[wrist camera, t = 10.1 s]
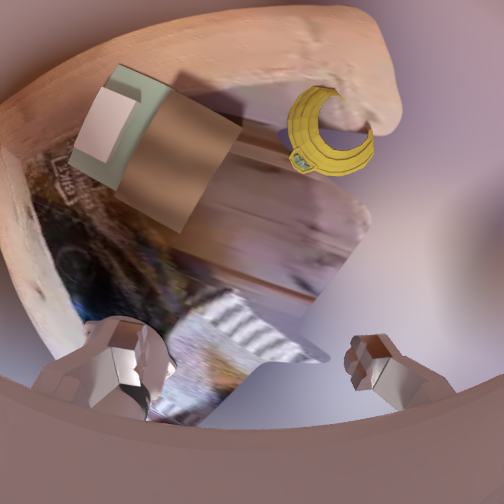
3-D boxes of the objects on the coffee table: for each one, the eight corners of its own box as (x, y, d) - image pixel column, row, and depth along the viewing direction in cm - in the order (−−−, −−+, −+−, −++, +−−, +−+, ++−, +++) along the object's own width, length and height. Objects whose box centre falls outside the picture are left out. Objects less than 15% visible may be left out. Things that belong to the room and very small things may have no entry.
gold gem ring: (286, 173, 37) (293, 177, 33) (285, 84, 32) (292, 77, 28) (369, 176, 38) (383, 180, 34) (369, 94, 33) (383, 90, 29)
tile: (73, 146, 30) (79, 146, 31) (105, 163, 31) (111, 162, 33) (101, 86, 27) (107, 88, 29) (136, 101, 29) (140, 103, 31)
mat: (119, 192, 35) (119, 193, 35) (68, 163, 32) (67, 163, 32) (176, 90, 31) (175, 90, 30) (119, 64, 28) (118, 64, 28)
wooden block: (184, 224, 38) (179, 233, 34) (124, 191, 35) (113, 196, 31) (241, 130, 34) (243, 128, 30) (177, 95, 31) (171, 89, 27)
